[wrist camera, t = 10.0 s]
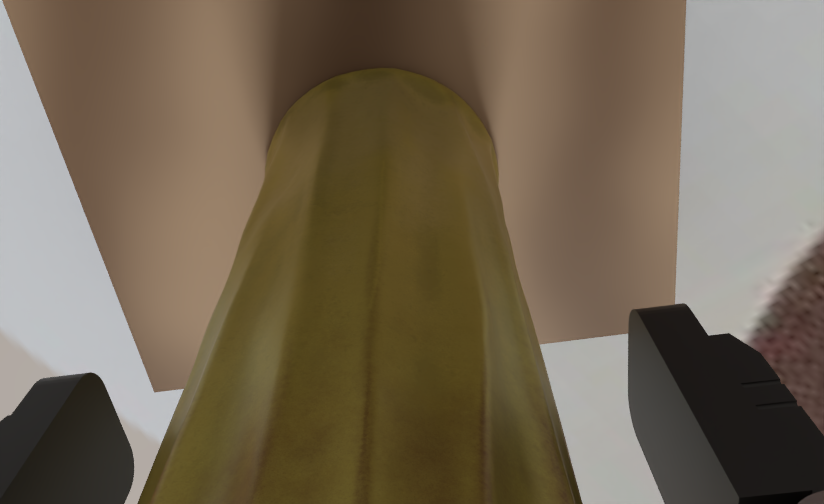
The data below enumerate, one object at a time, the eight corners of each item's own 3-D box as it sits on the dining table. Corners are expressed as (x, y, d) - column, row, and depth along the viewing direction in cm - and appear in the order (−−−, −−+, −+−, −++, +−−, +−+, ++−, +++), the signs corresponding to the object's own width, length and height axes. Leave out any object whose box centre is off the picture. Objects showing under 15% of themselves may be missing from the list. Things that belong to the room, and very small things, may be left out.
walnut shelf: (625, -120, 20) (690, -123, 16) (625, 251, 25) (673, 327, 21) (82, -35, 21) (-3, -15, 16) (196, 307, 26) (154, 392, 22)
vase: (222, 128, 18) (-198, 703, 5) (441, 22, 17) (576, 430, 4) (334, 310, 21) (234, 991, 8) (530, 229, 19) (779, 867, 7)
